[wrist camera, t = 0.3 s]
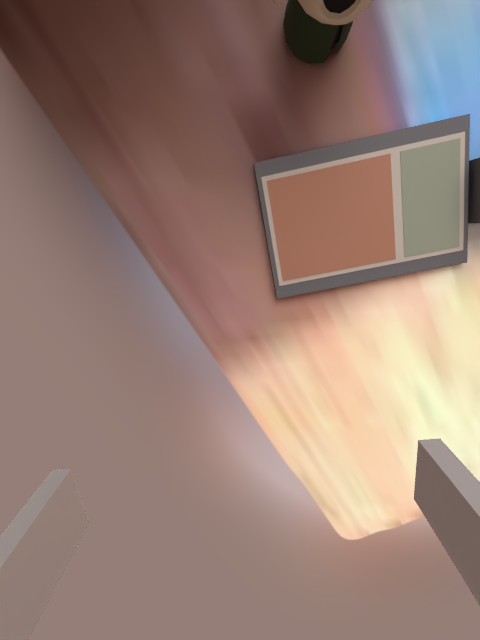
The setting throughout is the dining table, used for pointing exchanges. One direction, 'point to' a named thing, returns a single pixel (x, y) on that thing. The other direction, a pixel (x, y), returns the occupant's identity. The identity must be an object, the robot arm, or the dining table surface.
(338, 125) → the dining table surface
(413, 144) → the picture board
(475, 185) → the button housing
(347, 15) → the character mug
